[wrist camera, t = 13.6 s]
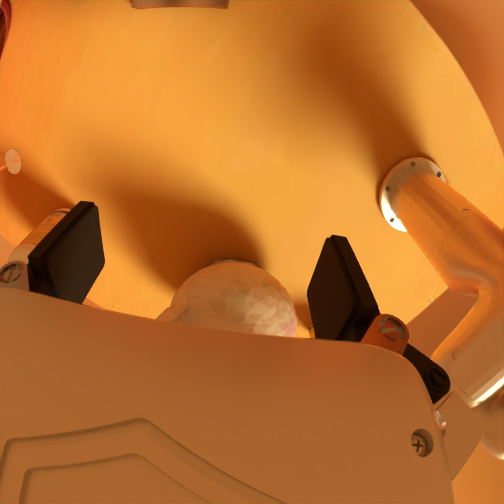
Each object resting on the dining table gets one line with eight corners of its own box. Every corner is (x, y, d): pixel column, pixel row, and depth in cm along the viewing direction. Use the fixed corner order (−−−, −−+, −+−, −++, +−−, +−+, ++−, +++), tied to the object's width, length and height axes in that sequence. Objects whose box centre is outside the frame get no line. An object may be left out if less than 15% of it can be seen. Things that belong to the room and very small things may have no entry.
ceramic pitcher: (154, 282, 51) (113, 406, 32) (200, 204, 40) (148, 360, 21) (252, 327, 58) (245, 444, 38) (316, 270, 47) (336, 414, 28)
